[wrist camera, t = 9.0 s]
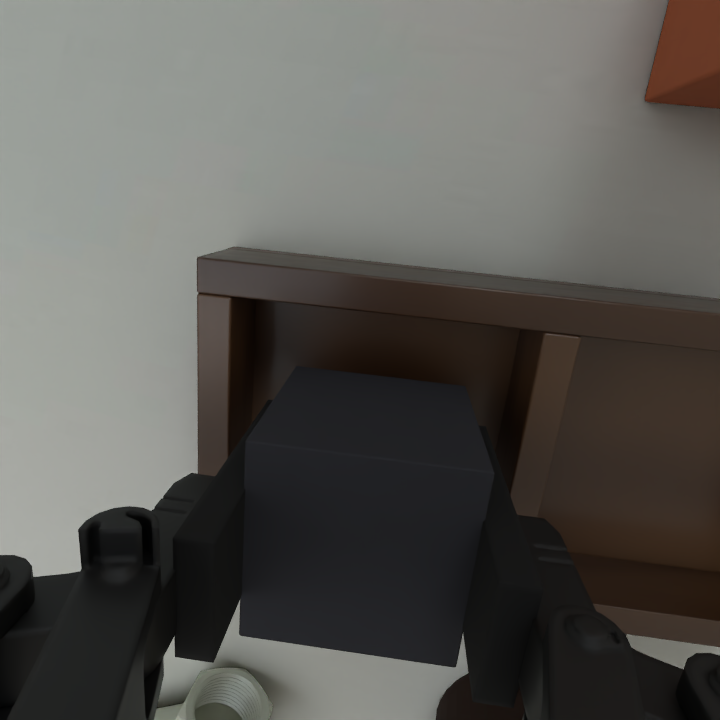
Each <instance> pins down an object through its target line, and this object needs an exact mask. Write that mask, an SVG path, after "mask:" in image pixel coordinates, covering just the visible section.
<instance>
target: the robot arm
mask: <svg viewBox="0 0 720 720" xmlns="http://www.w3.org/2000/svg"><path fill="white" fill-rule="evenodd" d="M272 401H273V400H269V399H268V401H267V402H266V404H265V405H264V407H263V408H262V409H261V411H260V412H259V414H258V415H257V417H256V418H255V420H254V421H253V422H252V424H251V425H250V427H249V428H248V430H247V431H246V433H245V434H244V435H243V437H242V438H241V440H240V441H239V443H238V444H237V446H236V447H235V448H234V450H233V451H232V453H231V454H230V456H229V457H228V459H227V460H226V462H225V463H224V464H223V466H222V467H221V469H220V470H219V472H218V473H217V475H216V476H209V475H201V474H194V473H191V474H189V475H187V476H186V477H184V478H182V479H181V480H179V481H177V482H175V483H174V484H173V485H172V486H171V488H170V489H169V490H168V491H167V493H166V494H165V495H164V497H163V499H161V500H160V501H159V502H158V504H157V505H156V506H155V509H154V510H152V511H149V510H147V509H144V508H140V507H130V506H129V507H120V508H113V509H110V510H107V511H104V512H101V513H98V514H97V515H95V516H93V517H91V518H90V519H88V520H86V522H85V523H84V524H83V525H82V526H81V527H80V528H79V529H78V532H79V543H80V555H81V566H82V569H81V571H80V572H75V573H69V574H60V575H50V576H40V577H33V572H32V566H31V565H30V563H29V562H28V561H27V560H26V559H24V558H21V557H18V556H15V555H0V720H154V717H155V713H156V708H157V704H158V699H159V695H160V690H161V686H162V681H163V676H164V664H163V656H164V654H165V653H166V651H167V649H168V647H169V645H170V643H171V641H172V639H173V637H174V636H175V657H180V658H186V659H193V660H199V661H206V662H213V663H214V660H215V658H216V655H217V653H218V651H219V648H220V646H221V643H222V641H223V639H224V636H225V634H226V631H227V629H228V626H229V624H230V622H231V619H232V617H233V614H234V612H235V610H236V607H237V605H238V602H239V600H240V598H241V595H242V573H243V542H244V511H245V489H244V467H245V441H246V440H247V438H248V437H249V435H250V434H251V432H252V431H253V429H254V428H255V426H256V425H257V423H258V422H259V420H260V419H261V417H262V416H263V414H264V413H265V411H266V410H267V408H268V407H269V406H270V404H271V403H272ZM479 428H480V431H481V434H482V437H483V440H484V443H485V446H486V449H487V452H488V455H489V458H490V461H491V464H492V467H493V470H494V479H493V484H492V489H491V494H490V499H489V504H488V509H487V514H486V519H485V520H484V521H483V526H482V531H481V536H480V541H479V546H478V551H477V556H476V561H475V566H474V571H473V576H472V581H471V586H470V591H469V596H468V601H467V606H466V611H465V616H464V621H463V634H464V641H465V649H466V656H467V664H468V671H469V679H470V686H471V694H472V701H473V702H476V703H483V704H489V705H496V706H502V707H509V708H514V704H515V700H516V696H517V692H518V689H519V687H520V691H521V695H522V699H523V704H524V708H525V711H524V715H523V719H522V720H720V656H719V655H715V654H712V653H696V654H694V655H693V656H691V657H689V658H688V659H687V662H686V664H685V667H684V669H680V668H678V667H675V666H672V665H670V664H667V663H665V662H662V661H660V660H657V659H654V658H652V657H649V656H647V655H645V654H643V653H640V652H638V651H636V650H634V649H633V648H631V646H630V644H629V642H628V639H627V637H626V635H625V634H624V633H623V632H622V630H621V629H620V628H619V627H618V626H617V625H616V624H615V623H614V622H613V621H611V620H610V619H608V618H607V617H606V616H604V615H603V614H601V613H599V612H597V611H596V609H595V607H594V605H593V603H592V601H591V599H590V596H589V594H588V592H587V590H586V588H585V586H584V584H583V581H582V579H581V577H580V575H579V573H578V571H577V569H576V566H575V565H573V560H572V558H571V556H570V553H569V552H567V547H566V545H565V543H564V541H563V538H562V536H561V534H560V533H559V532H558V531H557V530H556V529H555V528H554V527H553V526H552V525H551V524H550V523H549V522H548V521H547V520H546V519H545V518H538V517H531V516H523V515H517V513H516V510H515V507H514V505H513V502H512V499H511V496H510V493H509V491H508V488H507V485H506V482H505V479H504V476H503V474H502V471H501V468H500V465H499V462H498V460H497V457H496V454H495V451H494V448H493V446H492V443H491V440H490V437H489V434H488V431H487V429H486V426H480V425H479Z"/></svg>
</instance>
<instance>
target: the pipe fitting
mask: <svg viewBox="0 0 720 720" xmlns="http://www.w3.org/2000/svg"><path fill="white" fill-rule="evenodd" d="M272 709H273V705H272V703H271V701H270V700H269V698H268V696H267V694H266V693H265V691H264V690H263V688H262V687H261V685H260V684H259V683H258V682H257V680H256V679H255V678H254V677H253V676H252V675H251V674H250V673H249V672H248V671H247V670H246V669H242V668H216V669H209V670H204V671H201V672H200V673H199V675H198V677H197V679H196V681H195V683H194V684H193V686H192V688H191V690H190V692H189V694H188V696H187V698H186V700H185V701H184V703H183V704H178V705H173V706H167V707H162V708H156V713H155V717H154V720H269V718H270V715H271V712H272Z"/></svg>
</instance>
